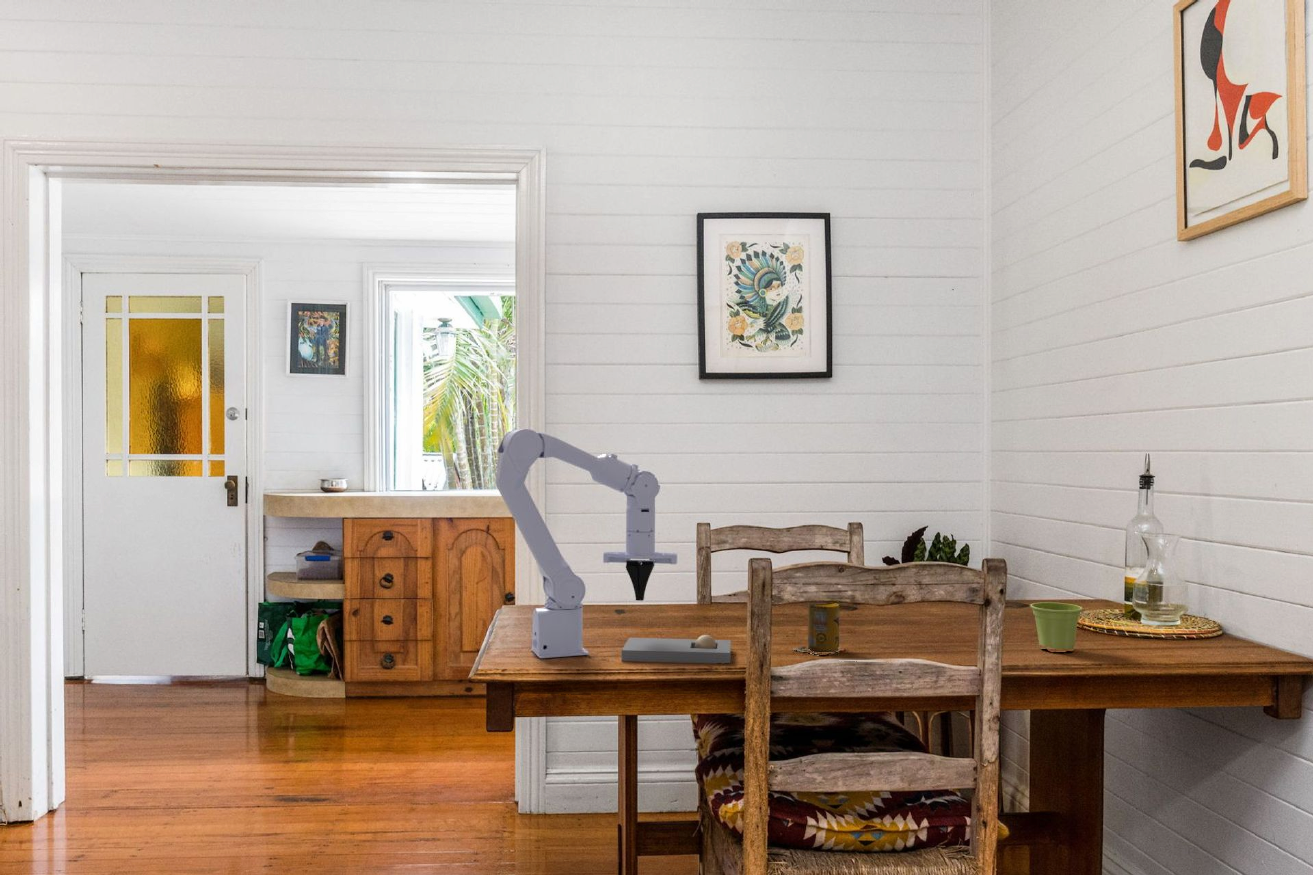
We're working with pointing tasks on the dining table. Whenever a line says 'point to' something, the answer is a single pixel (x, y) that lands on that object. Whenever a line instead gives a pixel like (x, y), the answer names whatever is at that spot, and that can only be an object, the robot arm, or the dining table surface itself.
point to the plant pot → (1056, 624)
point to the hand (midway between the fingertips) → (639, 599)
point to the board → (674, 651)
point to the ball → (705, 642)
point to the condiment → (822, 628)
